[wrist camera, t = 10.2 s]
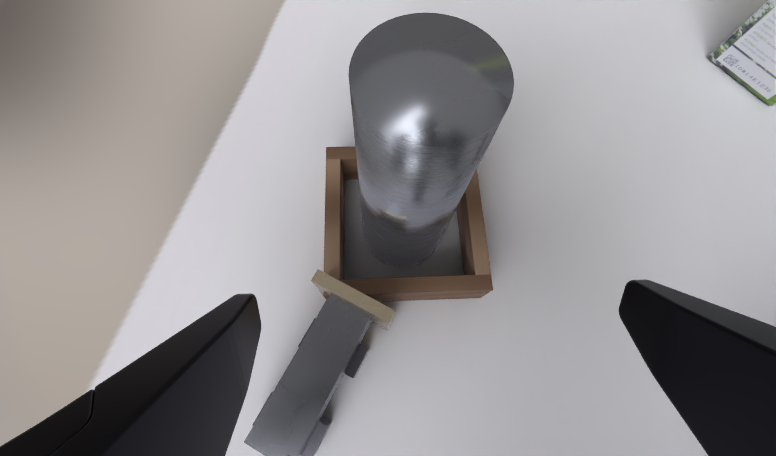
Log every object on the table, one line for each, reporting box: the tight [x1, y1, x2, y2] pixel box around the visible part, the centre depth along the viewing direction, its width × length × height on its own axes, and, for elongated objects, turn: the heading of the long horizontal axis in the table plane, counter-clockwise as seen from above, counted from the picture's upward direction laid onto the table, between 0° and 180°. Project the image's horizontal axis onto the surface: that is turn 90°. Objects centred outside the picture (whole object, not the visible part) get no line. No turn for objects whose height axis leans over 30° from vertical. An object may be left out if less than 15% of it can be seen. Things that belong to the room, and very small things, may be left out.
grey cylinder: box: [349, 13, 514, 267], centre depth 16 cm, size 5×5×13 cm
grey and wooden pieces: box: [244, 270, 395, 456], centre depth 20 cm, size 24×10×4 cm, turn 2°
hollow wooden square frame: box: [323, 147, 493, 301], centre depth 21 cm, size 9×9×2 cm
